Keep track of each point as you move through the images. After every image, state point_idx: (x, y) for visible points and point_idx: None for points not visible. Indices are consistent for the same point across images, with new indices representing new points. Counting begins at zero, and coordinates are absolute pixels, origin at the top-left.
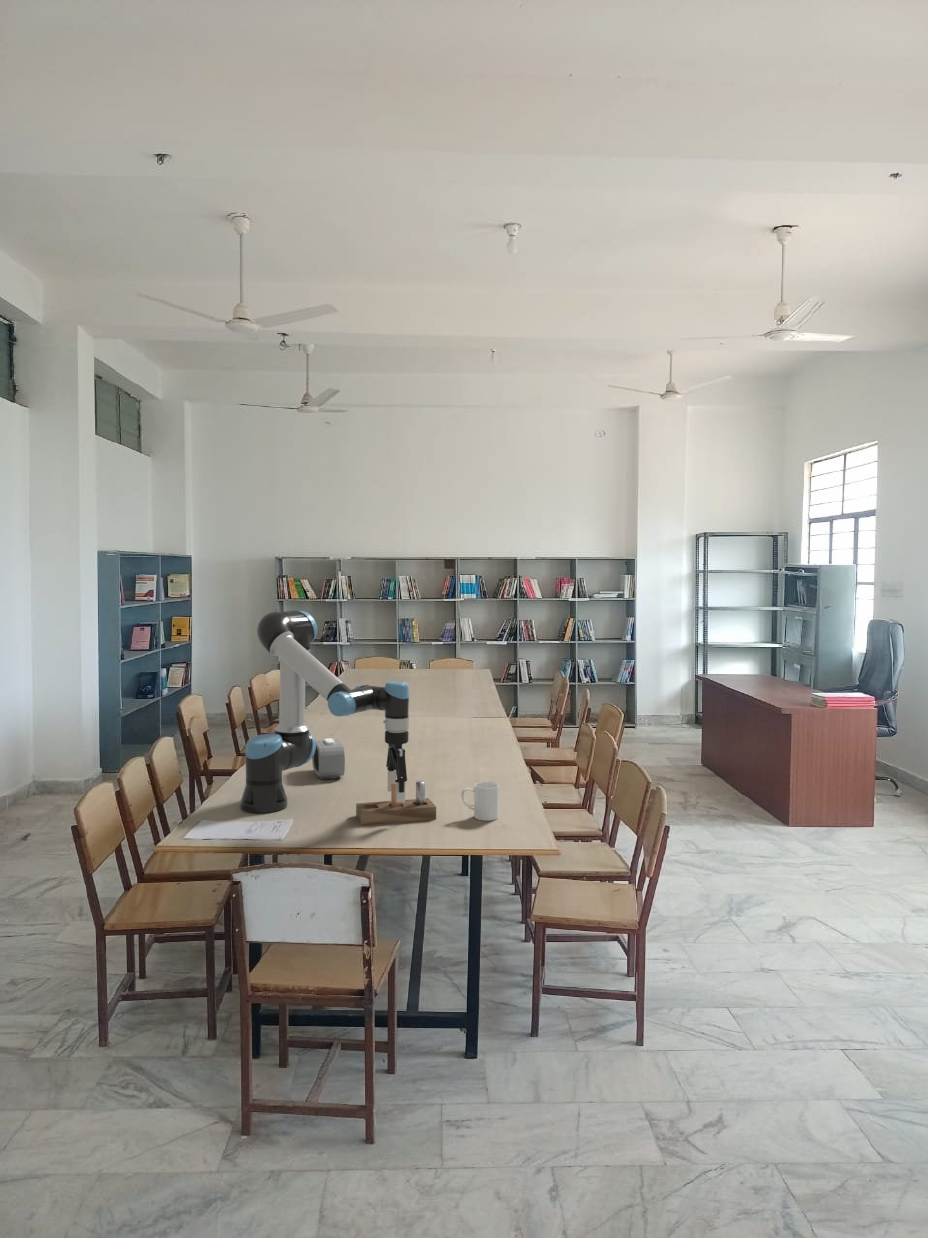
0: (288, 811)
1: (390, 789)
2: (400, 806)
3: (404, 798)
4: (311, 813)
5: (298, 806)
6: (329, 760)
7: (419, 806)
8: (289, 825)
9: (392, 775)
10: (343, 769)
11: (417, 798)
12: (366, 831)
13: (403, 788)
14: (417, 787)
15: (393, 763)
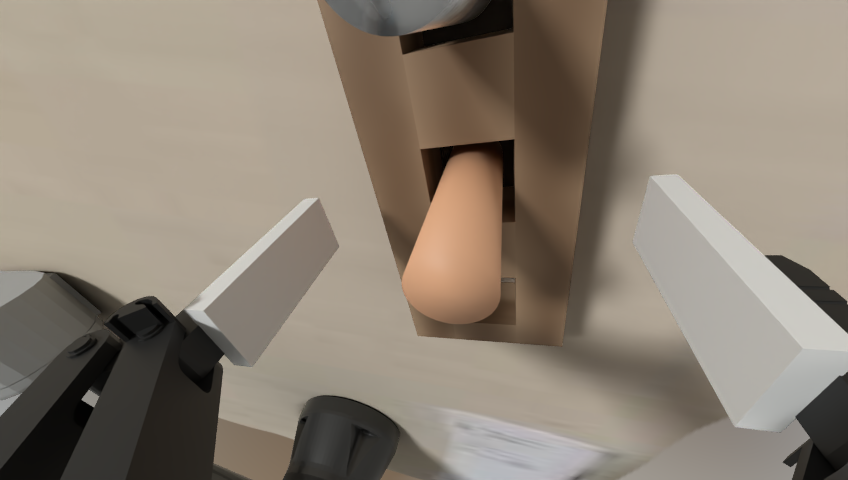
0: (382, 402)
1: (327, 240)
2: (484, 157)
3: (693, 197)
4: (398, 376)
5: (340, 383)
6: (32, 351)
7: None
8: (497, 422)
9: (255, 307)
10: (29, 293)
11: (473, 7)
12: (655, 300)
13: (837, 303)
14: (457, 6)
15: (174, 468)
